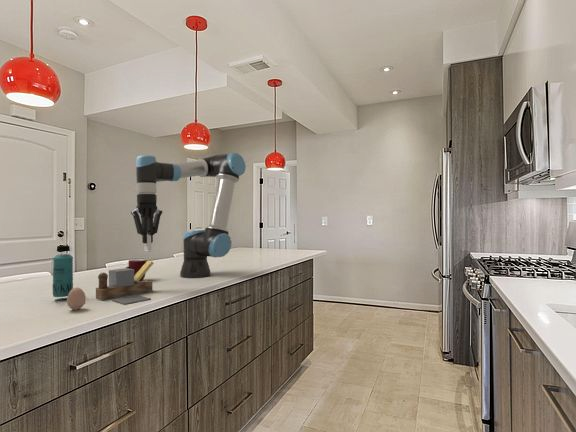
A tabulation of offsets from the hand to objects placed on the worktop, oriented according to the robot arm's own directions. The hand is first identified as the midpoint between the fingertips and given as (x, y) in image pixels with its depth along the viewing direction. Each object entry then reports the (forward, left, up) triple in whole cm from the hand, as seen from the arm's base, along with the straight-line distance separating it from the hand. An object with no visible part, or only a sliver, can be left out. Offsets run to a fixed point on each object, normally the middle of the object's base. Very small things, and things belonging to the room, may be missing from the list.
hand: (147, 251), depth 147 cm
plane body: (+9, 0, -16) cm, 19 cm away
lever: (+6, 0, -12) cm, 13 cm away
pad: (+13, +11, -16) cm, 23 cm away
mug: (-7, -24, -17) cm, 30 cm away
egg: (+30, +9, -17) cm, 36 cm away
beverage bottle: (+27, -11, -17) cm, 34 cm away
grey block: (+11, 0, -12) cm, 17 cm away
